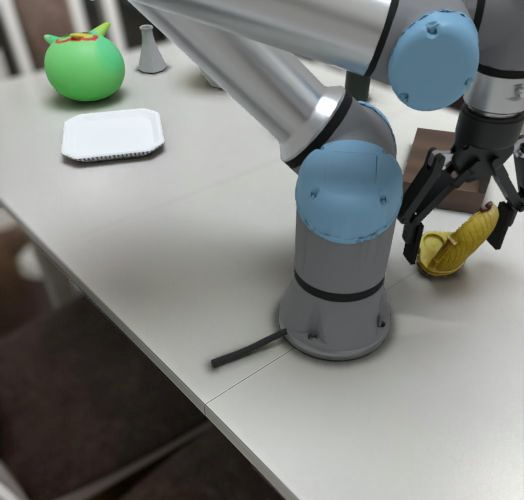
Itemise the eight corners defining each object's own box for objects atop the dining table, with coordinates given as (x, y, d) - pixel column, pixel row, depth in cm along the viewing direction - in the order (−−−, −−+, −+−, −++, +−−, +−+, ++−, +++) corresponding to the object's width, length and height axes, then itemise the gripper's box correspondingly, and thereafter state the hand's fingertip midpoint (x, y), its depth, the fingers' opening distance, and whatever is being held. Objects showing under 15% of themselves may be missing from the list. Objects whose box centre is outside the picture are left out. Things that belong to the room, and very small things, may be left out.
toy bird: (53, 115, 121) (32, 45, 111) (55, 88, 133) (36, 21, 122) (132, 107, 124) (119, 37, 113) (127, 80, 135) (115, 15, 125)
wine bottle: (338, 98, 126) (352, -59, 104) (354, 91, 128) (371, -63, 107) (357, 105, 123) (375, -55, 101) (372, 98, 126) (394, -59, 104)
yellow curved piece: (488, 290, 78) (524, 200, 67) (439, 301, 77) (467, 210, 66) (448, 245, 86) (474, 158, 75) (402, 255, 84) (422, 167, 73)
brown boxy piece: (478, 214, 92) (491, 177, 87) (397, 201, 95) (404, 165, 90) (484, 155, 106) (495, 121, 101) (413, 146, 109) (420, 112, 104)
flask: (153, 75, 137) (147, 32, 130) (133, 70, 140) (125, 28, 133) (171, 67, 141) (166, 24, 134) (151, 62, 144) (144, 20, 137)
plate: (62, 170, 104) (59, 159, 103) (67, 125, 118) (64, 115, 116) (167, 158, 107) (165, 147, 105) (159, 115, 121) (158, 106, 119)
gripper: (410, 132, 58) (382, 281, 74) (607, 105, 62) (541, 253, 78) (384, 105, 63) (362, 250, 79) (567, 82, 67) (513, 225, 83)
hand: (451, 252), depth 78 cm, fingers open, 13 cm apart
